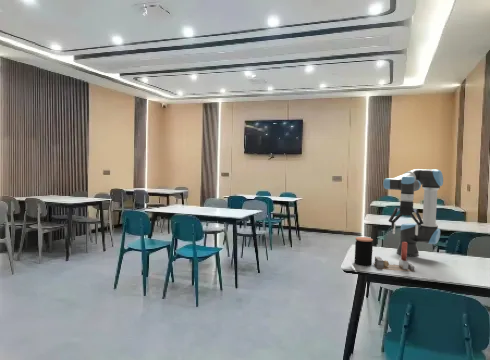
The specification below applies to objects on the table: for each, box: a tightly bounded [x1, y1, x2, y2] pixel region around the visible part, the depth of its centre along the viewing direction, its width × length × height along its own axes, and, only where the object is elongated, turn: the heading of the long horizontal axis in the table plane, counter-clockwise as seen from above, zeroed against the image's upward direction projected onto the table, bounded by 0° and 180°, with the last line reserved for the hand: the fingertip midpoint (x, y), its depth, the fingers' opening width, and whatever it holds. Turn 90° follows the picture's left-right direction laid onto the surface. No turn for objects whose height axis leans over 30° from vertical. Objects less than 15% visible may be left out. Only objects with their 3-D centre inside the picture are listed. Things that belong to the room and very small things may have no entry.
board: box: [372, 256, 416, 272], centre depth 230 cm, size 13×22×6 cm, turn 83°
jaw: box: [398, 242, 410, 269], centre depth 229 cm, size 9×3×16 cm, turn 173°
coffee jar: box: [354, 236, 374, 267], centre depth 236 cm, size 11×11×18 cm
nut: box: [383, 260, 390, 267], centre depth 231 cm, size 4×4×4 cm
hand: (405, 234), depth 229 cm, fingers open, 13 cm apart
